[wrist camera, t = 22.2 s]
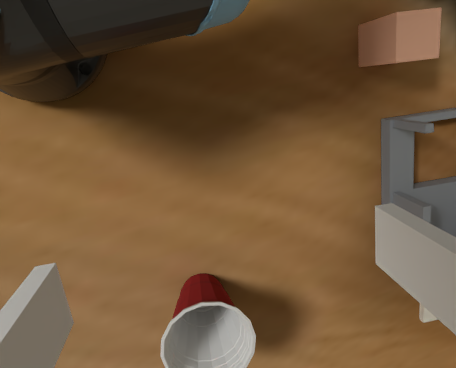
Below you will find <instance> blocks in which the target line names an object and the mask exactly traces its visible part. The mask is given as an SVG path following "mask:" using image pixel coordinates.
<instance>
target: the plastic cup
mask: <svg viewBox="0 0 456 368" xmlns="http://www.w3.org/2000/svg"><path fill="white" fill-rule="evenodd" d="M255 341H256V335H255V332H254V329H253V326H252V324H251V321H250V320H249V319H248V318H247V317H246V316H245V315H244V314H243V313H242V312H241V311H240V310H239V309H238V308H237V307H235V306H234V304H233V302H232V301H231V299H230V297H229V296H228V294H227V292H226V291H225V290H224V288H223V286H222V284H221V283H220V282H219V281H218V280H217V279H216V278H215V277H214V276H212V275H209V274H197V275H194V276H192V277H190V278H189V279H188V280H187V281H186V282H185V284H184V286H183V288H182V290H181V293H180V297H179V299H178V301H177V305H176V308H175V312H174V315H173V319H172V320H171V321H170V323H169V325H168V327H167V329H166V331H165V333H164V335H163V337H162V339H161V359H162V361H163V363H164V366H165V368H247V366H248V364H249V362H250V360H251V358H252V356H253V354H254V352H255Z"/></svg>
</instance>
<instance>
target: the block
mask: <svg viewBox="0 0 456 368" xmlns="http://www.w3.org/2000/svg"><path fill="white" fill-rule="evenodd" d="M441 9H442V7H440V8H431V9H421V10H411V11H402V12H395V13H392V14H390V15H387V16H384V17H381V18H378V19H375V20H372V21H369V22H366V23H363V24H360V25H358V43H359V67H365V66H374V65H383V64H392V63H401V62H409V61H417V60H426V59H434V58H439V47H440V28H441Z"/></svg>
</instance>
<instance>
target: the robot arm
mask: <svg viewBox="0 0 456 368" xmlns="http://www.w3.org/2000/svg"><path fill="white" fill-rule="evenodd" d="M248 2H249V0H0V91H1V92H3V93H5V94H7V95H10V96H13V97H16V98H19V99H23V100H28V101H36V102H46V101H56V100H62V99H66V98H69V97H71V96H74V95H76V94H78V93H79V92H81V91H82V90H84V89H85V88H87V87H88V86H89V85H90V84H91V83H92V82H93V81H94V80H95V78H96V77H97V76H98V74H99V73H100V71H101V69H102V67H103V65H104V62H105V59H106V56H107V53H111V52H116V51H120V50H124V49H128V48H133V47H137V46H141V45H145V44H150V43H154V42H158V41H162V40H167V39H171V38H175V37H179V36H184V35H186V36H195V35H196V34H198V33H201V32H202V31H203V30H205V29H208V28H212V27H215V26H218V25H222V24H225V23H229V22H231V21H232V20H234V19H235V18H236V17H238V16H239V15H240V14H241V13H242V12H243V11H244V9H245V8H246V6H247V4H248ZM375 255H376V265H378V266H379V267H380V268H381V269H382V270H383V271H384V272H385V273H387V274H388V275H389V276H390V277H391V278H392V279H393V280H394V281H396V282H397V283H398V284H399V285H400V286H401V287H402V288H403V289H405V290H406V291H407V292H408V293H409V294H410V295H411V296H412V297H414V298H415V299H416V300H417V301H418V302H419V303H420V304H421V305H423V306H424V307H425V308H426V309H427V310H428V311H429V312H430V313H432V314H433V315H434V316H435V317H436V318H437V319H438V320H440V321H441V322H442V323H443V324H444V325H445V326H446V327H447V328H449V329H450V330H451V331H452V332H453V333H454V334H455V335H456V237H454V236H452V235H450V234H449V233H447V232H445V231H443V230H441V229H439V228H437V227H436V226H434V225H432V224H430V223H428V222H426V221H424V220H423V219H421V218H419V217H417V216H415V215H413V214H411V213H410V212H408V211H406V210H404V209H402V208H400V207H398V206H397V205H395V204H393V203H389V204H383V205H378V206H375ZM73 323H74V322H73V318H72V315H71V312H70V308H69V305H68V302H67V298H66V295H65V292H64V288H63V285H62V282H61V278H60V275H59V272H58V269H57V265H56V263H52V264H47V265H41V266H36V267H35V268H34V269H33V270H32V271H31V273H30V274H29V275H28V276H27V278H26V279H25V280H24V281H23V283H22V284H21V285H20V286H19V288H18V289H17V290H16V292H15V293H14V294H13V295H12V297H11V298H10V299H9V300H8V302H7V303H6V304H5V305H4V307H3V308H2V309H1V310H0V368H54V367H55V364H56V362H57V360H58V357H59V355H60V353H61V351H62V348H63V346H64V344H65V342H66V339H67V337H68V335H69V332H70V330H71V328H72V326H73Z"/></svg>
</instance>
